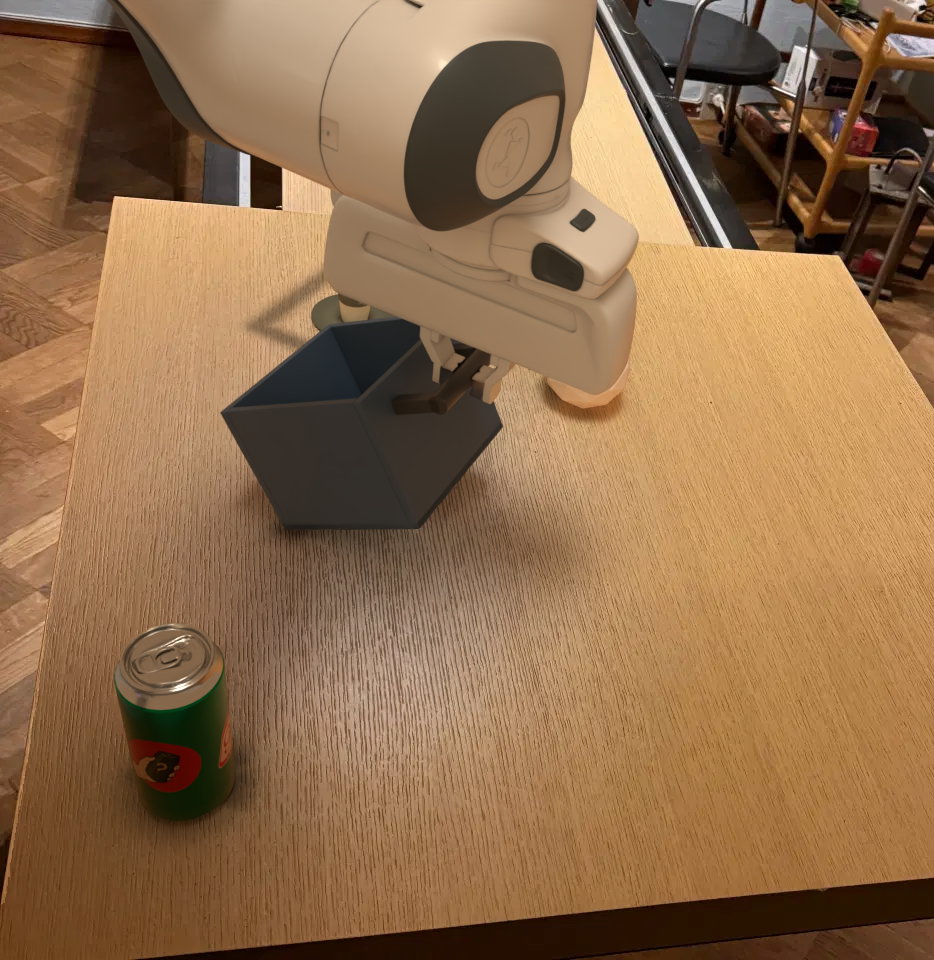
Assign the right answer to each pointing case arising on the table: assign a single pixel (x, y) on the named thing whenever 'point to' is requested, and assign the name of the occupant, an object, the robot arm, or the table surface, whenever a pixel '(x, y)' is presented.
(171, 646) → the soda can
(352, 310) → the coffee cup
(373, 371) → the handled storage box
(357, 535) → the table surface
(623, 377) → the geometric ball
